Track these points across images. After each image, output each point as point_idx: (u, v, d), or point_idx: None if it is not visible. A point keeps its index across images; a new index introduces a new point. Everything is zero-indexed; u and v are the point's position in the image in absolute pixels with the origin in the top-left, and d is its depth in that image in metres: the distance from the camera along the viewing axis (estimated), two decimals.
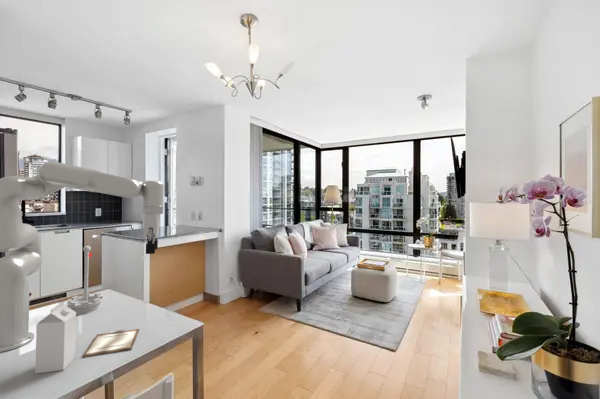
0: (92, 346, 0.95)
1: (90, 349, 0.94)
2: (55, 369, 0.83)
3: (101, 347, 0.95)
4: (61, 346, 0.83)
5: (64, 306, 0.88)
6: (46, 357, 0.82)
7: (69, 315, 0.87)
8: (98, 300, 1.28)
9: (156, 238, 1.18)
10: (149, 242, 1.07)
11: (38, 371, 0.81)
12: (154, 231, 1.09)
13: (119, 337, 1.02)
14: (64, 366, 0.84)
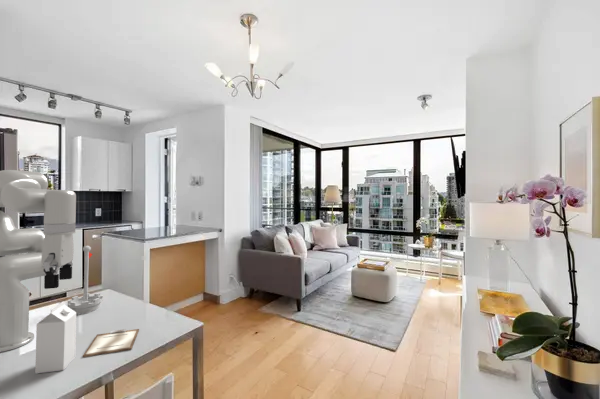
0: (92, 346, 0.95)
1: (90, 349, 0.94)
2: (55, 369, 0.83)
3: (101, 347, 0.95)
4: (61, 346, 0.83)
5: (64, 306, 0.88)
6: (46, 357, 0.82)
7: (69, 315, 0.87)
8: (98, 300, 1.28)
9: (69, 264, 0.90)
10: (48, 273, 0.79)
11: (38, 371, 0.81)
12: (57, 258, 0.81)
13: (119, 337, 1.02)
14: (64, 366, 0.84)
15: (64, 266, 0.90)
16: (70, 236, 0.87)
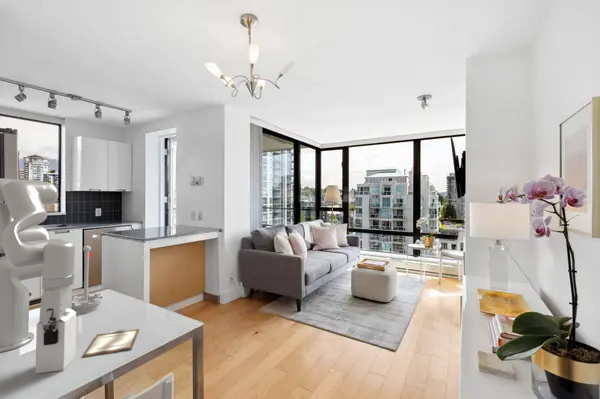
0: (92, 346, 0.95)
1: (90, 349, 0.94)
2: (55, 368, 0.83)
3: (101, 347, 0.95)
4: (61, 345, 0.83)
5: None
6: (47, 357, 0.82)
7: (69, 315, 0.87)
8: (98, 300, 1.28)
9: None
10: (47, 330, 0.80)
11: (38, 371, 0.81)
12: (55, 315, 0.81)
13: (119, 337, 1.02)
14: (64, 366, 0.84)
15: None
16: (68, 288, 0.87)
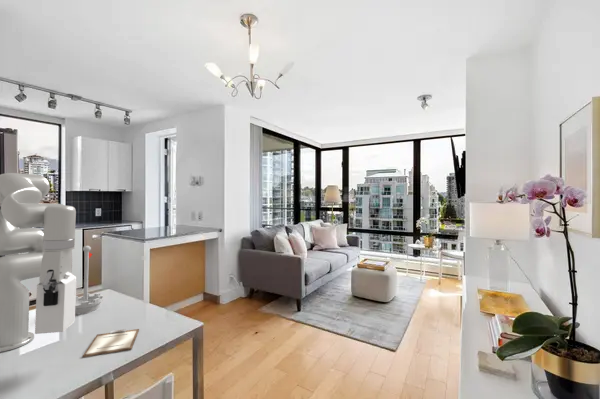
0: (92, 346, 0.95)
1: (90, 349, 0.94)
2: (55, 330, 0.83)
3: (101, 347, 0.95)
4: (61, 307, 0.83)
5: None
6: (46, 318, 0.82)
7: (69, 279, 0.87)
8: (98, 300, 1.28)
9: None
10: (47, 291, 0.80)
11: (38, 332, 0.82)
12: (55, 276, 0.82)
13: (119, 337, 1.02)
14: (64, 328, 0.84)
15: None
16: (69, 251, 0.87)
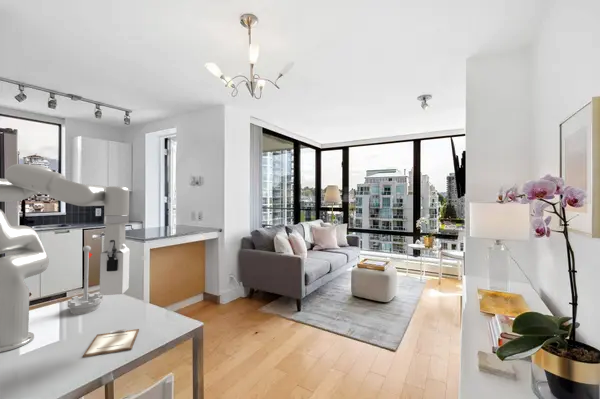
0: (92, 346, 0.95)
1: (90, 349, 0.94)
2: (116, 292, 0.97)
3: (101, 347, 0.95)
4: (120, 273, 0.97)
5: None
6: (108, 282, 0.96)
7: (125, 249, 1.01)
8: (98, 300, 1.28)
9: None
10: (110, 258, 0.94)
11: (102, 293, 0.96)
12: (116, 246, 0.96)
13: (119, 337, 1.02)
14: (122, 291, 0.98)
15: None
16: (124, 226, 1.01)
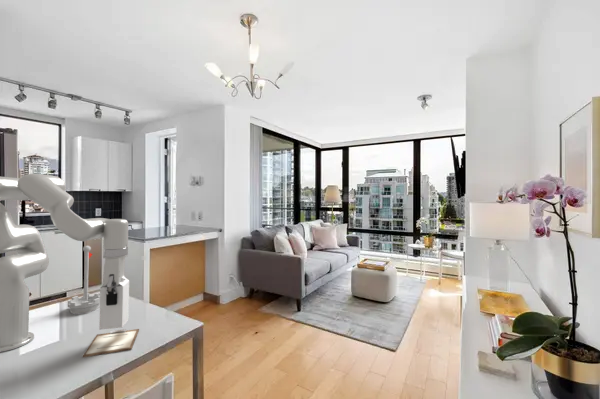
0: (92, 346, 0.95)
1: (90, 349, 0.94)
2: (115, 326, 0.97)
3: (101, 347, 0.95)
4: (120, 306, 0.97)
5: None
6: (108, 316, 0.96)
7: (125, 282, 1.01)
8: (98, 300, 1.28)
9: None
10: (110, 293, 0.94)
11: (101, 327, 0.96)
12: (115, 279, 0.96)
13: (119, 337, 1.02)
14: (122, 324, 0.98)
15: None
16: (124, 258, 1.01)
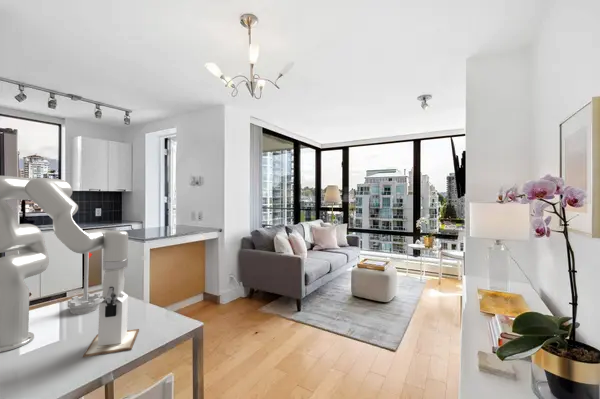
0: (92, 346, 0.95)
1: (90, 349, 0.94)
2: (114, 342, 0.97)
3: (101, 347, 0.95)
4: (119, 322, 0.97)
5: None
6: (107, 332, 0.96)
7: (124, 297, 1.01)
8: (98, 300, 1.28)
9: None
10: (109, 304, 0.94)
11: (100, 344, 0.95)
12: (115, 290, 0.96)
13: None
14: (121, 340, 0.98)
15: None
16: (123, 270, 1.01)
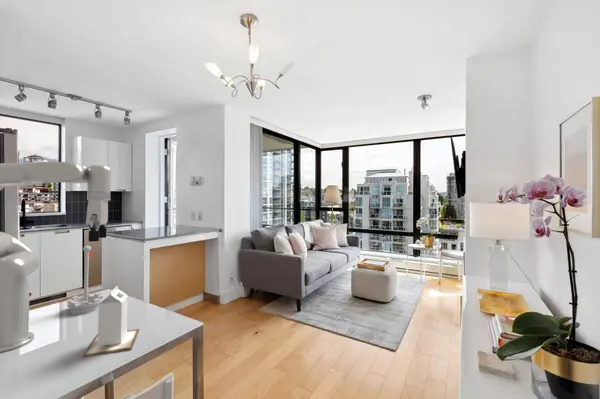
0: (92, 346, 0.95)
1: (90, 349, 0.94)
2: (114, 342, 0.97)
3: (101, 347, 0.95)
4: (119, 323, 0.97)
5: (118, 290, 1.02)
6: (107, 332, 0.96)
7: (123, 297, 1.01)
8: (98, 300, 1.28)
9: (105, 226, 1.13)
10: (92, 229, 1.02)
11: (100, 344, 0.95)
12: (98, 218, 1.04)
13: None
14: (121, 340, 0.98)
15: (100, 227, 1.13)
16: (106, 203, 1.10)
